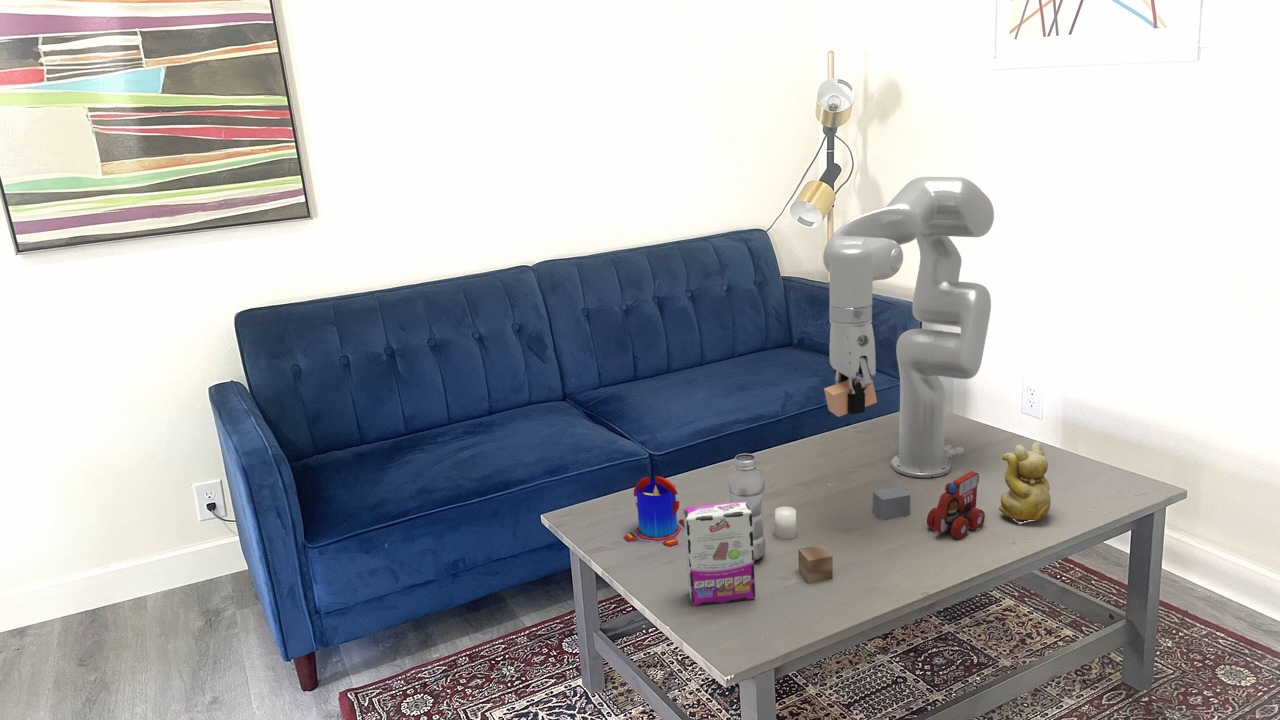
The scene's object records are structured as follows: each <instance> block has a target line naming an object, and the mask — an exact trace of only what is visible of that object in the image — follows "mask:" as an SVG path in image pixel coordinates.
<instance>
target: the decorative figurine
mask: <svg viewBox="0 0 1280 720" xmlns="http://www.w3.org/2000/svg"><path fill="white" fill-rule="evenodd" d="M1001 460H1003V461H1006V463H1007V469H1006V471H1005V475H1004V480H1005V484H1006V486H1007V487H1008V488H1009V489H1008V491H1004V492H1003V493H1002V494H1001V496H1000V504H1001V505H1000V506H998V510H999V511H1000V512H1001V513H1002V514H1004V515H1005V516H1007V517H1009V518H1010V517H1011V518H1010V519H1012V518H1013V519H1015V520H1016V521H1018V522H1024V521H1028V520H1038V521H1041V518H1044V517H1046V516H1047V514H1048V513H1049V511H1050V508H1051V503H1052V502H1051V494H1050V492H1049V491H1050V482H1049V481H1048V479H1047V478H1046V477H1045V475H1046V473H1047V471H1048V468H1049V462H1048V460H1047V457H1045V449H1044V448H1043V446H1042V443H1040V442H1039V441H1034V442H1033V443H1032V446H1031V450H1028V449H1027V448H1026V447H1025V446H1023V445H1022V444H1016V445H1015V449H1014V453H1013V452H1006V453H1004V454H1003V455H1002V456H1001Z"/></svg>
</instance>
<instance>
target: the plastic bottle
mask: <svg viewBox="0 0 1280 720" xmlns="http://www.w3.org/2000/svg"><path fill="white" fill-rule="evenodd" d="M756 458H757V457H756V456H755V455H754V454H752V453H740V454H737V455H736V456H734V469H735V470H734V471H733V474H731V476H730V478H729V480H728V483H727V484H728V486H727V487H728V493H729V500H730V503H732V502H741V501H746V502H747V505H748V507H749V509H750V510H751V512H752V530H753V554H754V562H755V561H758V560H760V559H761V558H762V557H763V556H764V554H765V552H766V547H767V543H766V537H765V534H764V527H763V526H764V525H763V500H764V494H765V486H766V485H765V481H764V479H763V477H762V475H761V474H760V473H759V472H758V471H757V470H756V468H757V463H756V462H757V459H756Z"/></svg>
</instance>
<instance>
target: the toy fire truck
mask: <svg viewBox="0 0 1280 720" xmlns="http://www.w3.org/2000/svg"><path fill="white" fill-rule="evenodd" d="M979 481H980V474H979V473H978V472H975V471H969V472H967V473H965V474H964V475H962V476H960V477H958V478H956V479H954V480H953V481H952V482H948V483H946V485H945V486H944V491H945V492H943V493H942V494H941V495H940V497H939V500H938V503H937V506H936V507H933V508H932V509H930V511H929V512H928V514H927V516H926V526H927V527H928V528H930V529H931V530H934V532H938V533H939V534H944V533H945V532H947V531H950V533H951V535H952V537H954V538H956V539H958V540H960V539H961V538H962V539H963V538H965V536H966V535H967V534H968V531H969V529H971V530H973V529H974V531H977V530H976V529H978V528H980V527H981V526H983V525H984V523H985V518H986V513H985V511H984V510H983V509H980V508H979V507H978V508H977V498H978V497H977V496H978V495H977V494H978V485H979V483H980V482H979ZM981 528H982V527H981ZM981 528H980V529H981ZM978 530H979V529H978ZM962 539H961V540H962Z"/></svg>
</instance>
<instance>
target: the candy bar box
mask: <svg viewBox="0 0 1280 720" xmlns="http://www.w3.org/2000/svg"><path fill="white" fill-rule="evenodd" d="M682 509H683V512H682V513H683V514H682V515H683V519H684V527H685V528H684V540H685V554H686V555H685V557H686V558H685V559H686V571H687V575H686V576H687V587H688V593H689V594H688V595H689V598H690V602H691V605H692V606H694V607H696V606H708V605H713V604H723V603H731V602H732V603H733V602H737V601H747V600H754V599H756V579H755V578H756V577H755V575H756V574H755V561H754V554H753V530H752V512H751V510H750V509H749V507H748V505H747V502H746V501H741V502H732V503H731V502H724V503H715V504H705V505H697V506H688V507H683V508H682Z"/></svg>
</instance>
